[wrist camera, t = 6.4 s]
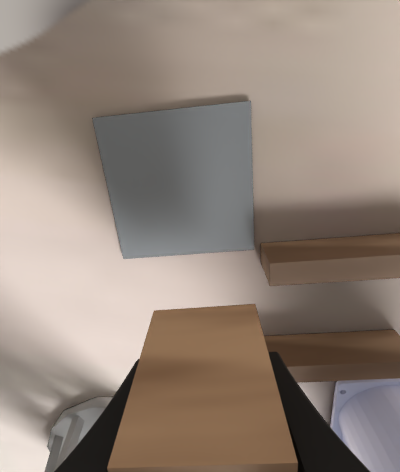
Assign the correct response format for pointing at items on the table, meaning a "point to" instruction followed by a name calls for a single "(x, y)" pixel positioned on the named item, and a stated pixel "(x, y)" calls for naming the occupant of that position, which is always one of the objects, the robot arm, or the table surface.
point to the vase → (73, 429)
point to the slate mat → (180, 179)
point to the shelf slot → (335, 270)
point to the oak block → (204, 398)
